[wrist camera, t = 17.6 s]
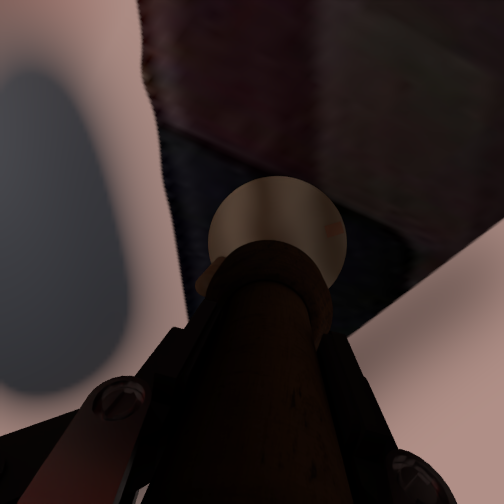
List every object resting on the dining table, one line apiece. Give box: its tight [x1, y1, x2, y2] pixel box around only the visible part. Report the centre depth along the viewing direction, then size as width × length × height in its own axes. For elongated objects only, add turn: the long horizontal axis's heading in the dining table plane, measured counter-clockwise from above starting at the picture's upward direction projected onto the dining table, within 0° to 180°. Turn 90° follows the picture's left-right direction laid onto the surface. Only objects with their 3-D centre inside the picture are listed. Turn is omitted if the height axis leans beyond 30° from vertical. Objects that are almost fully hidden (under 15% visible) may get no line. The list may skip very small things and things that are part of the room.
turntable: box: [195, 176, 347, 297], centre depth 23 cm, size 14×14×8 cm
